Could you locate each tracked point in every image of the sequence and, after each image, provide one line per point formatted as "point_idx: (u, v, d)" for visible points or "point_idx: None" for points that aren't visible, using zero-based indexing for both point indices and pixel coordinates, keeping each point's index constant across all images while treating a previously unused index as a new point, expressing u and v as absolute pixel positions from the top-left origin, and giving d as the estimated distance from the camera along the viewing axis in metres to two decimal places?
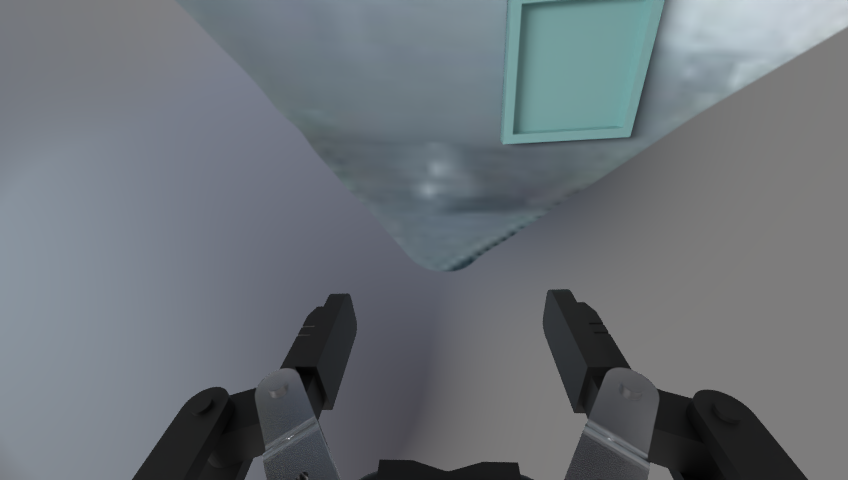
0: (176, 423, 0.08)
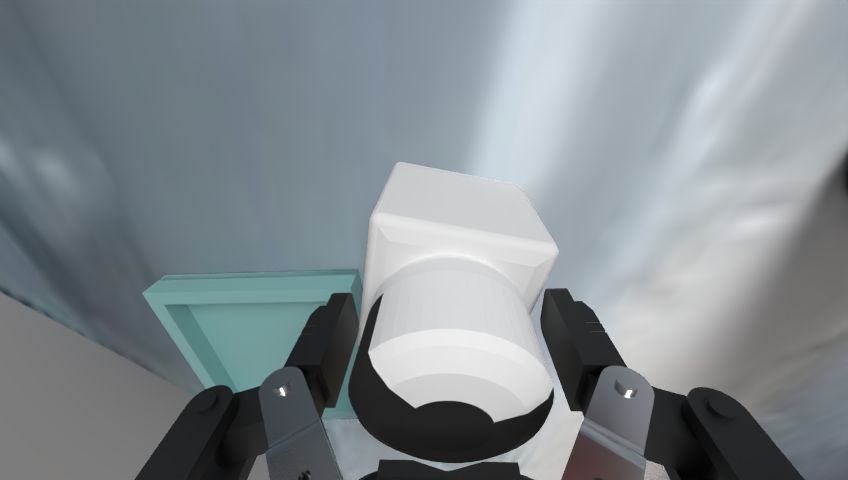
0: (181, 420, 0.08)
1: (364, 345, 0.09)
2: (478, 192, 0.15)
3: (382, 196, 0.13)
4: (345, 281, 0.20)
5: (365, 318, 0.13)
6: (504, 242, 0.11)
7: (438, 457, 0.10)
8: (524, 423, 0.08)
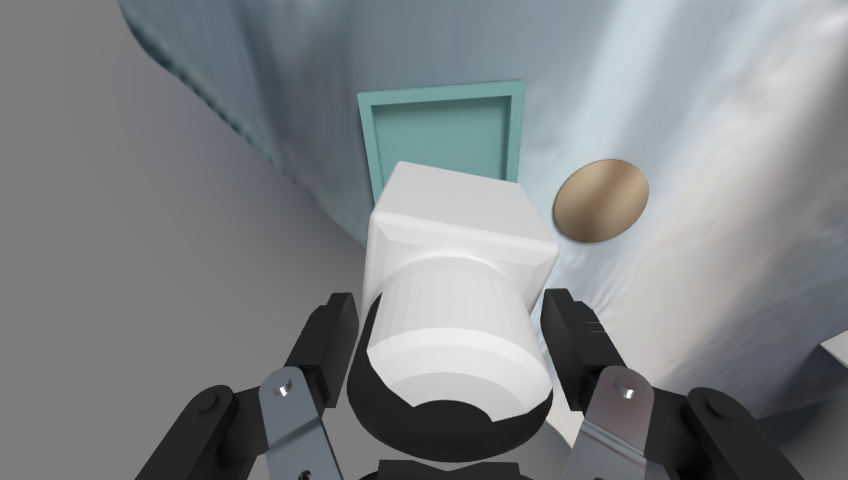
0: (181, 420, 0.08)
1: (363, 343, 0.09)
2: (479, 191, 0.15)
3: (382, 195, 0.13)
4: (517, 80, 0.26)
5: (365, 317, 0.13)
6: (504, 241, 0.11)
7: (436, 456, 0.10)
8: (522, 422, 0.08)
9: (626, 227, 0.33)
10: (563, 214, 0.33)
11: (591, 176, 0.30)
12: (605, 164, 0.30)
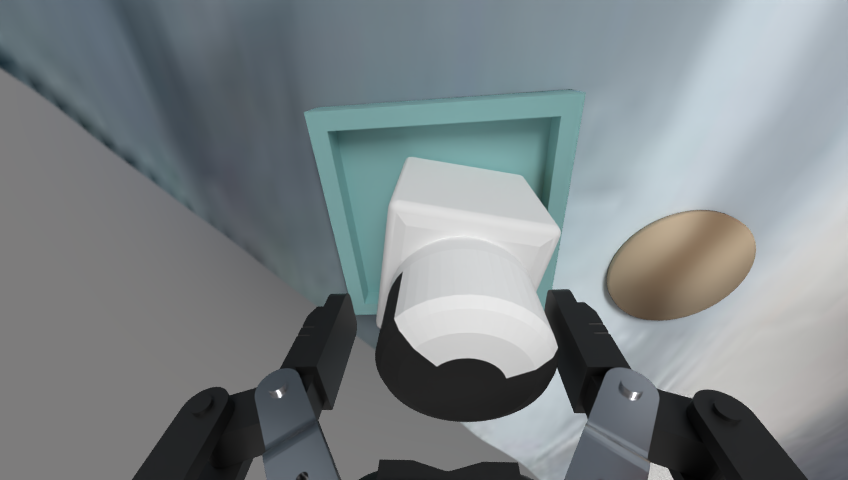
0: (176, 423, 0.08)
1: (389, 314, 0.10)
2: (485, 182, 0.16)
3: (397, 186, 0.14)
4: (569, 92, 0.15)
5: (383, 299, 0.14)
6: (510, 225, 0.12)
7: (456, 415, 0.11)
8: (532, 379, 0.10)
9: (712, 302, 0.23)
10: (621, 284, 0.22)
11: (670, 234, 0.20)
12: (694, 218, 0.19)
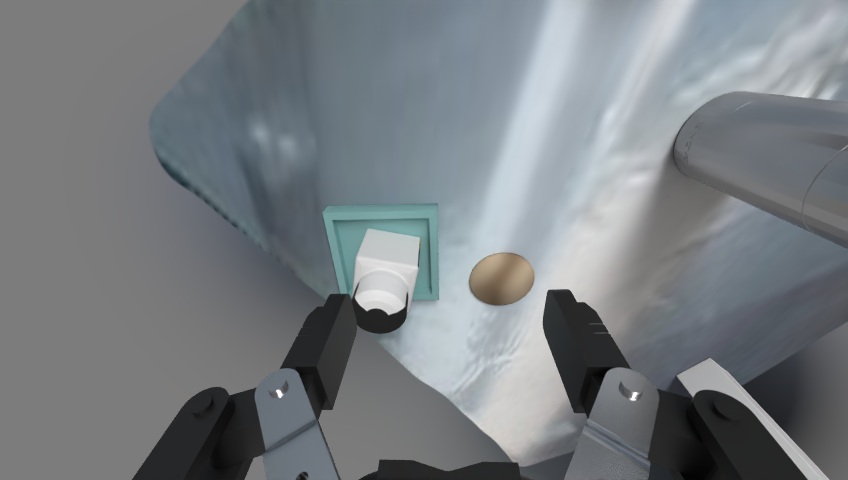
0: (176, 423, 0.08)
1: (353, 296, 0.32)
2: (398, 243, 0.38)
3: (360, 248, 0.36)
4: (432, 207, 0.38)
5: (354, 292, 0.36)
6: (399, 265, 0.34)
7: (375, 329, 0.33)
8: (396, 315, 0.32)
9: (522, 296, 0.45)
10: (476, 286, 0.45)
11: (492, 263, 0.43)
12: (501, 256, 0.42)
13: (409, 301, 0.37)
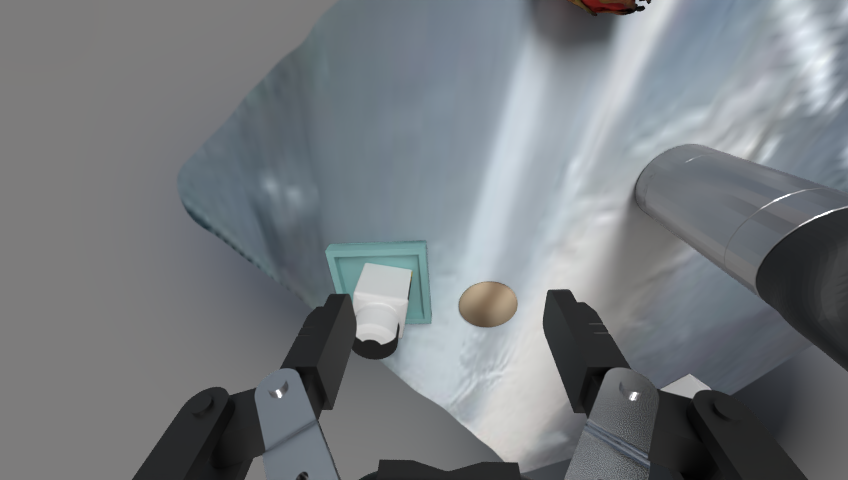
0: (176, 423, 0.08)
1: None
2: (392, 277, 0.43)
3: (357, 283, 0.41)
4: (421, 245, 0.43)
5: None
6: (391, 299, 0.39)
7: (370, 356, 0.38)
8: (388, 345, 0.37)
9: (507, 319, 0.50)
10: (465, 311, 0.49)
11: (478, 291, 0.47)
12: (486, 285, 0.46)
13: (401, 329, 0.42)
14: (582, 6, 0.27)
